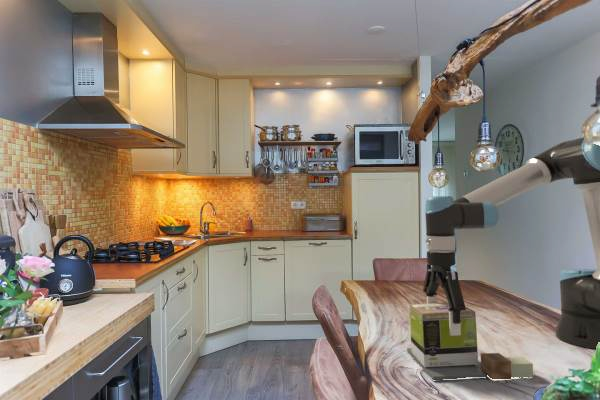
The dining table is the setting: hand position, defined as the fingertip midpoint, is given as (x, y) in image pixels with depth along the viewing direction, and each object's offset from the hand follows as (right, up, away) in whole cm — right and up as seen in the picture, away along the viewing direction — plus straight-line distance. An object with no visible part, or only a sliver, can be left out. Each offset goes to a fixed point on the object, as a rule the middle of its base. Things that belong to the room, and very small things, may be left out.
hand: (443, 326), depth 98 cm
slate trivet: (0, -11, 0) cm, 11 cm away
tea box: (0, -10, 0) cm, 10 cm away
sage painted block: (+16, -10, -7) cm, 21 cm away
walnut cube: (+11, -10, -7) cm, 17 cm away
